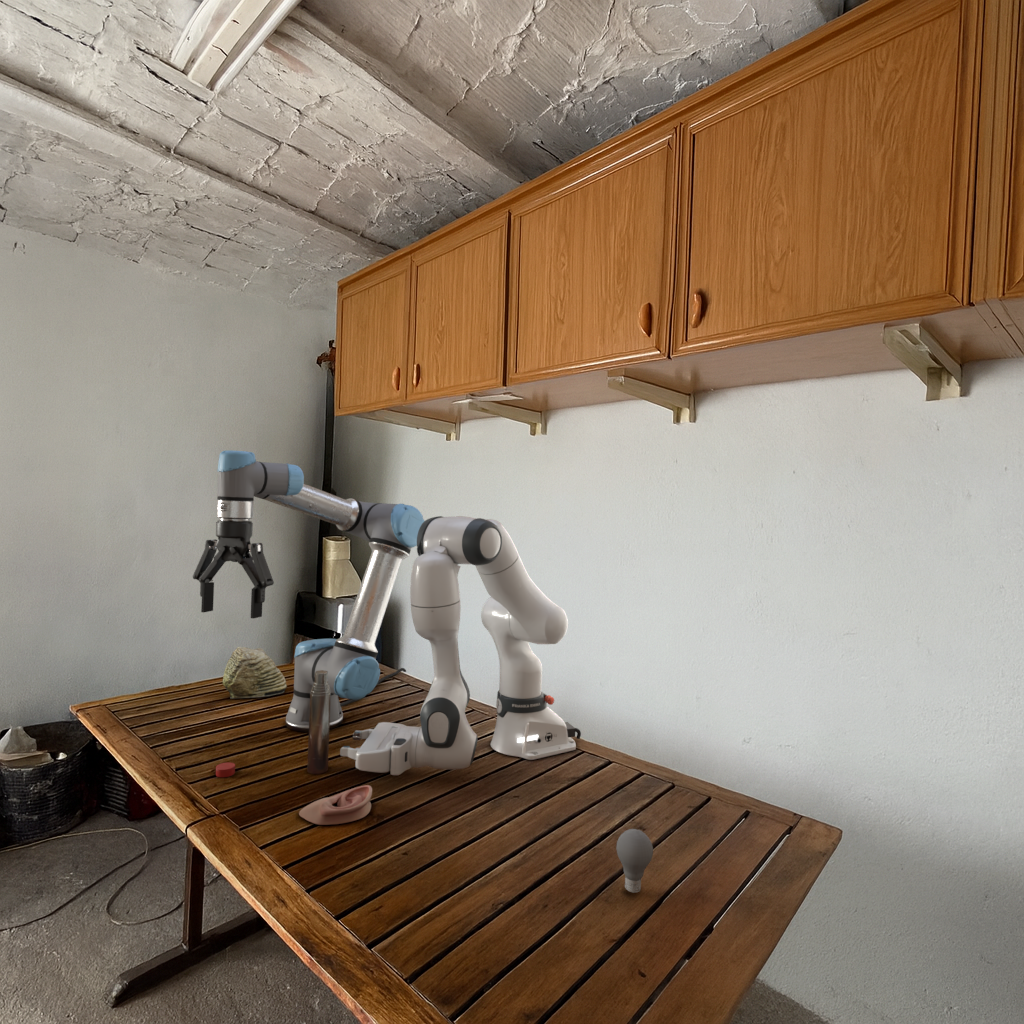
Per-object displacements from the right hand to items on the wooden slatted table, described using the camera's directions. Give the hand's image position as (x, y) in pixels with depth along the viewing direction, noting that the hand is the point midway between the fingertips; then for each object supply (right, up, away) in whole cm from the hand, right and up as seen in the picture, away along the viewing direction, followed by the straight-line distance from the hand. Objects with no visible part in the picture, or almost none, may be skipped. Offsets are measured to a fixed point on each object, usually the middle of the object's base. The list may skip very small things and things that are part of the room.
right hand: (347, 742), depth 147 cm
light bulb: (+58, -10, -41) cm, 72 cm away
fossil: (-43, -4, +51) cm, 67 cm away
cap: (-27, -4, -4) cm, 27 cm away
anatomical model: (+3, -7, -19) cm, 21 cm away
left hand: (-25, +30, -5) cm, 40 cm away
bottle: (-7, -6, 0) cm, 9 cm away
